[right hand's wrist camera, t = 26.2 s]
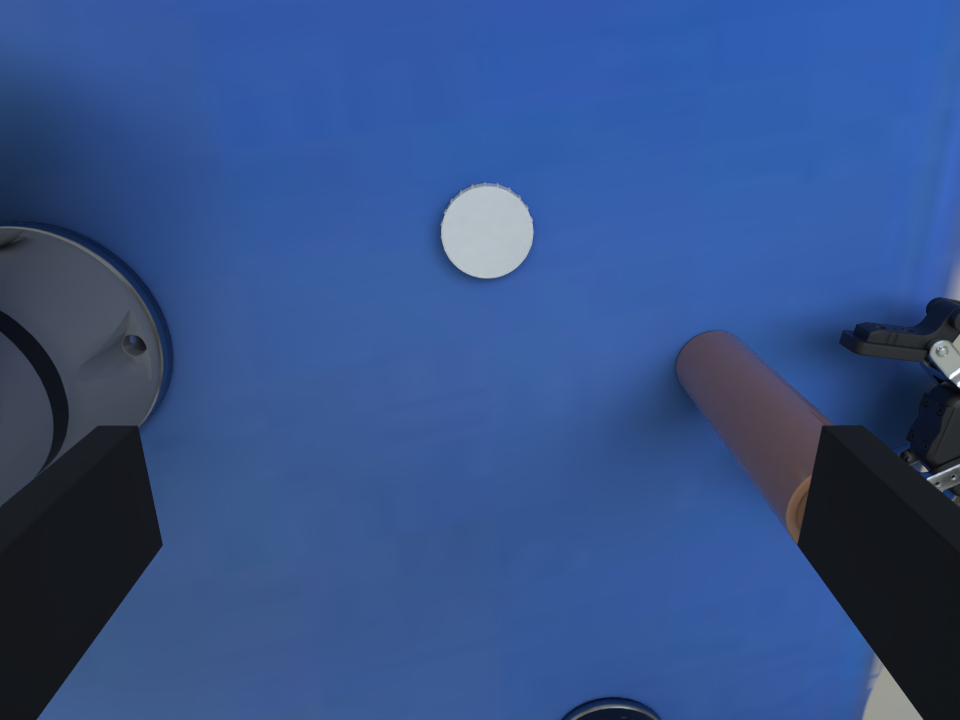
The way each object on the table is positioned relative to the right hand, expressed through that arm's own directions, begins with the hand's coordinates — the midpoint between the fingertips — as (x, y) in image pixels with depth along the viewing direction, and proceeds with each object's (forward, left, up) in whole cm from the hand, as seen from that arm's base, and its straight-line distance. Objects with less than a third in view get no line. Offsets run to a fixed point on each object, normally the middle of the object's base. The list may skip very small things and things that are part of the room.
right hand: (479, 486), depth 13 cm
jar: (+3, -17, -29) cm, 34 cm away
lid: (0, 0, -28) cm, 28 cm away
